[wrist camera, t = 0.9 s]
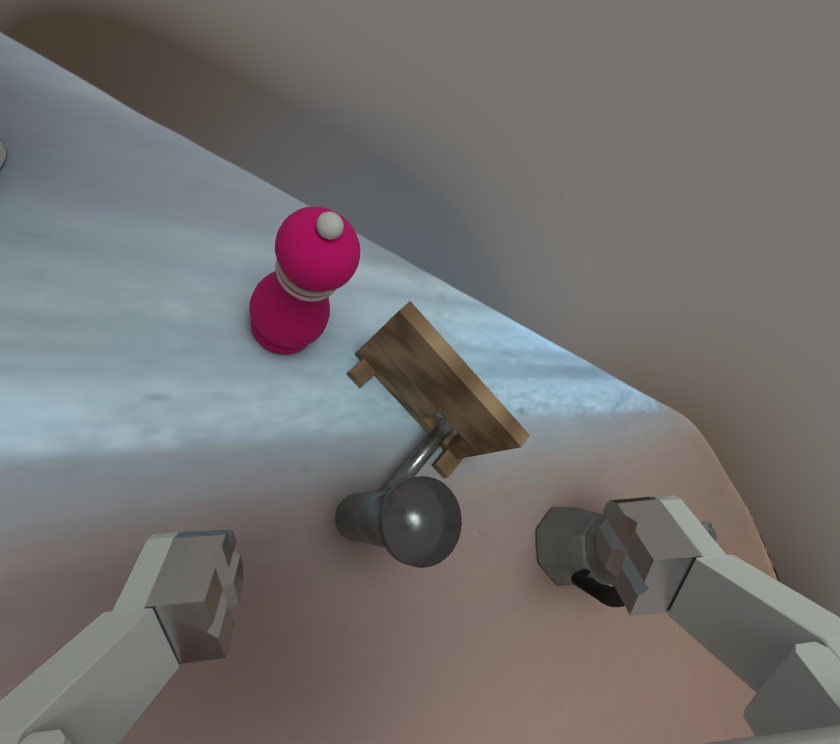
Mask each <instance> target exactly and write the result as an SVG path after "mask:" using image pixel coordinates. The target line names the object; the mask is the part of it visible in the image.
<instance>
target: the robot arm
mask: <svg viewBox="0 0 840 744" xmlns="http://www.w3.org/2000/svg"><path fill="white" fill-rule="evenodd" d="M5 157H6V149H5V147H4V146H3V145H2V143H1V142H0V167H1V166H2V164H3V162H4V160H5ZM603 513H604V515H605V516H606V518H607V519H606V520H605V521H604V522H603V523H601V524H600V525H599V526H598V530H597V534H596V544H597V550H598V554H599V557H600V559H601V561H602V563H603V565H604V567H605V569H607V570H608V571H609V572H611V573H612V574H613V575H615V576H616V583H615V588H616V590H617V592H618V594H619V596H620V598H621V600H622V601H623V603H624V605H625V607H626V609H627V611H628V613H629V615H643V614H657V613H668V616H670V617H671V618H672V619H673V620H674V621H675V622H676V623H678V624H679V625H680V626H681V627H682V628H683V629H684V630H685V631H687V632H688V633H689V634H690V635H691V636H692V637H693V638H695V639H696V640H697V641H698V642H699V643H700V644H701V645H703V646H704V647H705V648H706V649H707V650H708V651H709V652H711V653H712V654H713V655H714V656H715V657H716V658H717V659H719V660H720V661H721V662H722V663H723V664H724V665H725V666H727V667H728V668H729V669H730V670H731V671H732V672H733V673H735V674H736V675H737V676H738V677H739V678H740V679H741V680H743V681H744V682H745V683H746V684H747V685H748V686H749V687H751V688H752V689H753V690H754V691H755V692H756V693H757V694H756V695H755V696H754V698H753V699H752V700H751V701H750V703H749V704H748V705H747V706H746V708H745V710H744V715H743V717H744V718H745V720H746V722H747V723H748V725H749V727H750V728H751V730H752V731H753V733H754V735H755V736H754V737H747V738H739V739H732V740H725V741H718V742H711V743H703V744H840V618H839V617H837V616H836V615H834V614H832V613H831V612H829V611H827V610H826V609H824V608H822V607H821V606H819V605H817V604H816V603H814V602H812V601H810V600H809V599H807V598H805V597H804V596H802V595H800V594H799V593H797V592H795V591H793V590H792V589H790V588H788V587H787V586H785V585H783V584H782V583H780V582H778V581H777V580H775V579H773V578H772V577H770V576H768V575H766V574H765V573H763V572H761V571H760V570H758V569H756V568H755V567H753V566H751V565H750V564H748V563H746V562H745V561H743V560H741V559H739V558H738V557H736V556H734V555H726V554H725V553H724V552H723V550H722V549H721V548H720V547H719V545H718V544H717V543H716V542H715V540H714V539H713V538H712V537H711V536H710V534H709V533H708V532H707V531H706V529H705V528H704V527H703V526H702V524H701V523H700V522H699V521H698V520H697V518H696V517H695V516H694V515H693V513H692V512H691V511H690V510H689V508H688V507H687V506H686V505H685V504H684V502H683V501H682V500H681V499H680V498H679V497H677V496H675V495H668V496H655V497H640V498H629V499H617V500H610V501H609V502H608V503H606V505H605V508H604V511H603ZM235 543H236V539H235V536H234V533H233V530H212V531H192V532H177V533H160V534H153V535H152V536H151V537H150V538H149V539H148V540H147V541H146V542H145V544H144V547H143V549H142V551H141V553H140V555H139V557H138V559H137V561H136V563H135V565H134V567H133V569H132V571H131V573H130V575H129V577H128V579H127V581H126V583H125V585H124V588H123V590H122V592H121V594H120V596H119V598H118V600H117V602H116V604H115V606H114V608H113V610H112V611H110V612H103V613H102V614H101V615H100V616H99V617H97V618H96V619H95V620H94V621H93V622H92V623H90V624H89V625H88V626H87V627H86V628H85V629H83V630H82V631H81V632H80V633H79V634H78V635H76V636H75V637H74V638H73V639H72V640H71V641H69V642H68V643H67V644H66V645H65V646H64V647H62V648H61V649H60V650H59V651H58V652H56V653H55V654H54V655H53V656H52V657H51V658H49V659H48V660H47V661H46V662H45V663H44V664H42V665H41V666H40V667H39V668H38V669H37V670H35V671H34V672H33V673H32V674H31V675H30V676H28V677H27V678H26V679H25V680H24V681H23V682H21V683H20V684H19V685H18V686H17V687H16V688H14V689H13V690H12V691H11V692H10V693H9V694H7V695H6V696H5V697H4V698H3V699H2V700H0V744H119V743H120V741H121V740H122V739H123V738H124V736H125V735H126V734H127V733H128V731H129V730H130V729H131V728H132V726H133V725H134V724H135V723H136V721H137V720H138V719H139V717H140V716H141V715H142V714H143V712H144V711H145V710H146V709H147V707H148V706H149V705H150V704H151V702H152V701H153V700H154V698H155V697H156V696H157V695H158V693H159V692H160V691H161V690H162V688H163V687H164V686H165V685H166V683H167V682H168V681H169V679H170V678H171V677H172V676H173V674H174V673H175V672H176V671H177V669H178V668H179V664H182V663H189V662H197V661H204V660H212V659H219V658H225V657H226V653H227V649H228V645H229V641H230V637H231V633H232V629H233V625H234V623H233V620H232V616H231V613H230V611H231V610H232V609H233V608H234V607H235V606H236V605H237V604H238V603H239V600H240V595H241V591H242V582H243V565H242V560H241V556H240V555H239V554H238V553H236V552H235V551H234V547H235Z"/></svg>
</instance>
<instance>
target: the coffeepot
mask: <svg viewBox="0 0 840 744" xmlns="http://www.w3.org/2000/svg"><path fill="white" fill-rule="evenodd" d="M606 519H607V518H606V516H605V515H603V514H599V513H595V512H590V511H586V510H582V509H578V508H558V507H552V508H551V509H550V511H549V512H548V513H547V514H546V515H545V516H544V518H543V519H542V521H541V522H540V524H539V527H538V528H537V532H536V551H537V556H538V562H539V564H540V565H541V567H542V568H543V570H544V571H545V573H546V574H547V575H548V576H549V577H550V578H551V579H552V580H553V581H554V582H555V583H556V584H557V586H561V585H576V586H578V587H579V588H581V589H582V590H584V591H585V592H586V593H588V594H590V595H591V596H593V597H594V598H596V599H597V600H599V601H600V602H602V603H603V604H605V605H607V606H610V607H622V606H625V605H624V603H623V601H622V600H621V598H620V596H619V594H618V592H617V590H616V588H615V583H616V576H615V575H613V574H612V573H611V572H609V571H608V570H607V569H605V567H604V565H603V563H602V561H601V559H600V557H599V554H598V550H597V544H596V534H597V530H598V526H599V525H600V524H601V523H603V522H604V521H605V520H606ZM701 524H702V526H703V527H704V528H705V529H706V531H707V532H708V533H709V534H710V536H711V537H712V538H713V539H714V540H715V542H716V539H717V536H716V533H715V531H714V529H713V528H712V523H711V522H710V521H708V522H702V523H701ZM604 584H612V585H613V587H610V586H608V585H604Z"/></svg>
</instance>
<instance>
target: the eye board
mask: <svg viewBox="0 0 840 744" xmlns="http://www.w3.org/2000/svg"><path fill="white" fill-rule="evenodd" d="M355 355H356V356H357V357H358V358H359V359H360V360H361V361H360V362H359V363H358V364H357V365H356V366H355V367H354V368H353V369H352V370H351V371H349V372H348V373H347V375H348V376H349V377H350V378H351V379H352V380H353V381H354V382H355V383H356V385H357V386H358V387H359V388H360V387H361V386H363V385H364V384H365V383H366V382H367V381H368V380H369V379H370V378H371V377H372V376H373V375H374V376H375V377H376V378H377V379H378V380H379V381H380V382H381V383H382V384H383V385H384V386H385V387H386V389H387V390H388V391H389V392H390V393H391V394H392V395H393V396H394V397H395V398H396V399H397V400H398V402H399V403H400V404H401V405H402V406H403V407H404V408H405V409H406V410H407V411H408V412H409V413H410V414H411V416H412V417H413V418H414V419H415V420H416V421H417V422H418V423H419V424H420V425H421V426H422V427H423V429H424V430H425V431H426V432H427V433H428V434H430V433H431V432H432V430H433V429H434V428H435V427H436V426H437V425H438V423H439V422H440V421H441V420H440V419H439V418H438V417H437V416H436V415H435V414H436V413H438V412H440V413H441V414H442V415H443V416H444V417H445V419H446V420H447V421H448V422H449V423H450V424H451V425H452V426H453V427H454V428H455V429H456V431H457V432H458V434H457V435H456V436H455V435H454V434H453V433H452V432H451V433H450V434H449V436H448V437H447V438H446V439H445V440H444V442H443V443H442V444H441V445H440V447H441V448H442V449H443V450H444V451H443V452H442V453H441V454H440V455H439V457H438V458H437V459H436V460H435V461H434V463H433V464H432V466H433V467H434V468H435V469H436V470H437V471H438V472H439V473H440V475H441V476H442V477H443V478H448V477H449V476H450V474H451V473H452V472H453V471H454V469H455V468H456V467H457V466H458V464H459V463H460V462H461V460H462V459H463V458H466V457H471V456H476V455H482V454H487V453H492V452H498V451H503V450H509V449H514V448H519V447H522V446H523V444H524V443H525V441H526V440H527V439H528V437H529V436H530V435H529V434H528V433H527V431H526V430H525V429H524V428H523V427H522V426H521V425H520V424H519V422H518V421H517V420H516V419H515V418H514V417H513V416H512V415H511V413H510V412H509V411H508V410H507V409H506V408H505V407H504V406H503V405H502V403H501V402H500V401H499V400H498V399H497V398H496V397H495V396H494V394H493V393H492V392H491V391H490V390H489V389H488V388H487V387H486V385H485V384H484V383H483V382H482V381H481V380H480V379H479V378H478V377H477V375H476V374H475V373H474V372H473V371H472V370H471V369H470V368H469V366H468V365H467V364H466V363H465V362H464V361H463V360H462V359H461V357H460V356H459V355H458V354H457V353H456V352H455V351H454V350H453V348H452V347H451V346H450V345H449V344H448V343H447V342H446V341H445V340H444V338H443V337H442V336H441V335H440V334H439V333H438V332H437V331H436V329H435V328H434V327H433V326H432V325H431V324H430V323H429V322H428V320H427V319H426V318H425V317H424V316H423V315H422V314H421V313H420V311H419V310H418V309H417V308H416V307H415V306H414V305H413V304H412V303H411V301H410V302H408V303H407V304H406V305H405V306H404V307H403V308H402V309H400V310H399V311H398V312H397V313H396V314H395V315H394V316H393V317H392V318H391V319H390V320H389V321H388V322H387V323H386V324H385V325H384V326H383V327H382V328H381V329H380V330H379V331H378V332H377V333H376V334H375V335H374V336H373V337H372V338H371V339H370V340H369V341H368V342H367V343H366V344H365V345H364V346H363V347H361V348H360V349H359V350H358V351H357V352H356V353H355Z"/></svg>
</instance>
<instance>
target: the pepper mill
mask: <svg viewBox="0 0 840 744" xmlns="http://www.w3.org/2000/svg"><path fill="white" fill-rule="evenodd" d="M275 253H276V258H277V261H276V267H275V269H276V271H275V272H273V273H271V274H269V275H268V276H266V277H265V278H264V279H263V280H262V281H261V282H260V283H259V284H258V285H257V287H256V288H255V290H254V292H253V294H252V297H251V300H250V316H251V328H252V332H253V335H254V337H255V338H256V340H257V341H258V342H259V343H260V344H261V345H262V346H263V347H264V348H266V349H267V350H269V351H271V352H274V353H277V354H293V353H296V352H299V351H301V350H302V349H304V348H305V347H306V346H307V345H308V344H310V343H312V342H313V341H315V340H316V339H317V338H318V337H319V336H320V335H321V334H322V333H323V331H324V329H325V327H326V325H327V323H328V319H329V315H330V305H329V298H328V297H329V296H331V295H332V294H333V293H334V291H335V290H336V289H337V288H339V287H341V286H343V285H344V284H345V283H347V282H348V281H349V280H350V278H351V277H352V276H353V275H354V273H355V271H356V269H357V267H358V264H359V259H360V244H359V240H358V237H357V235H356V232H355V230H354V229H353V227H352V226H351V225H350V223H349V222H348V221H347V220H346V219H345V218H344V217H343V216H341V215H340V214H338V213H336V212H335V211H332V210H330V209H327V208H323V207H305V208H302V209H299V210H297V211H295V212H294V213H292V214H291V215H289V216H288V217H287V218H286V219H285V220H284V222H283V223H282V225H281V227H280V228H279V230H278V233H277V236H276V241H275Z"/></svg>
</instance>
